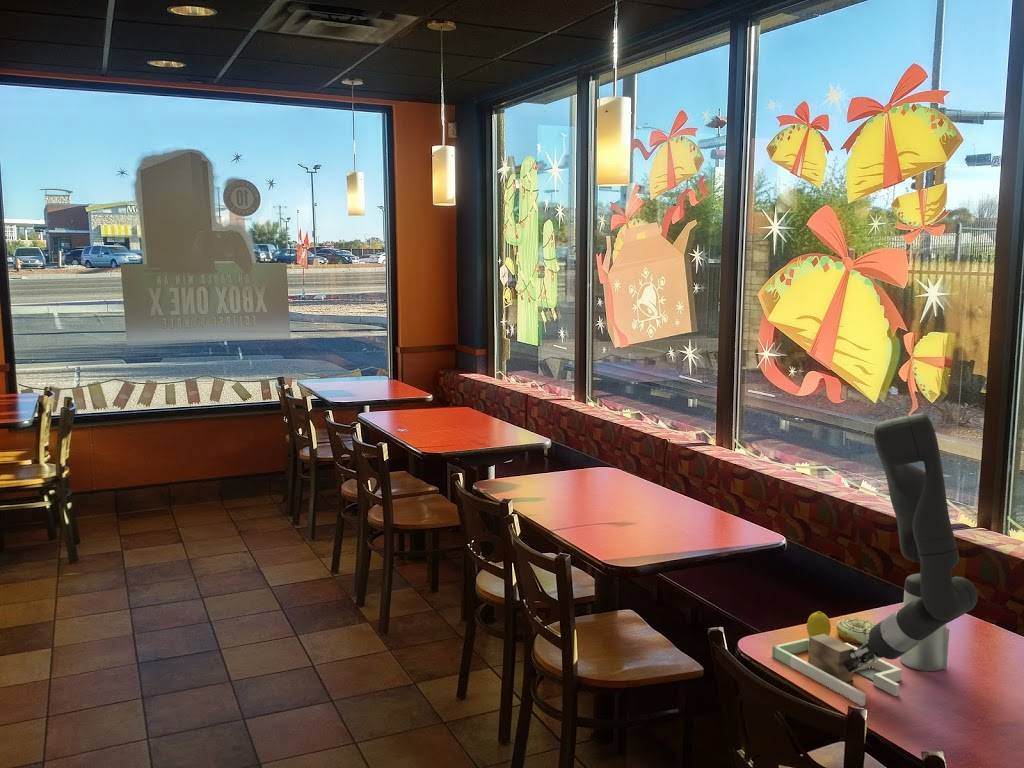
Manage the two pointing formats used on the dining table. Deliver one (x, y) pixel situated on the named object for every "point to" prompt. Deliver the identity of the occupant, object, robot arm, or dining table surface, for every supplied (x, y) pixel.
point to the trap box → (880, 674)
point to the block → (830, 656)
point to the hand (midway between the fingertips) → (848, 667)
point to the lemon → (818, 624)
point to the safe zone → (789, 650)
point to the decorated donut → (854, 629)
